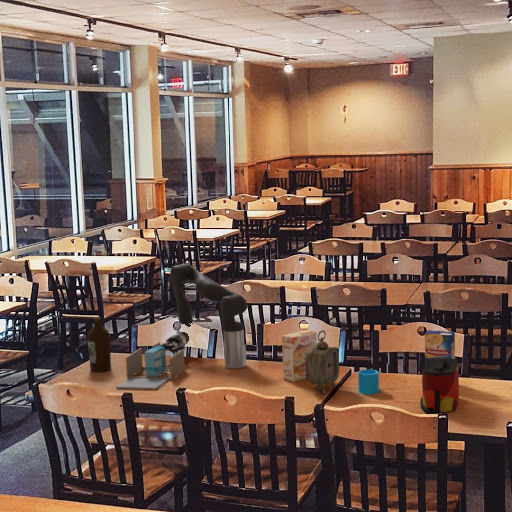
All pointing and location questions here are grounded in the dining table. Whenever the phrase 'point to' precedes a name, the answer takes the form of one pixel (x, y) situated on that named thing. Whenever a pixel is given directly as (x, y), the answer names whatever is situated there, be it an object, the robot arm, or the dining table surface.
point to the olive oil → (99, 347)
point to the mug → (368, 381)
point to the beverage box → (439, 344)
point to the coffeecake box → (296, 353)
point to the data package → (155, 361)
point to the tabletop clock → (322, 364)
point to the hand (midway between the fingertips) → (164, 350)
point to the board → (141, 383)
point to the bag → (440, 385)
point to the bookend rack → (136, 365)
